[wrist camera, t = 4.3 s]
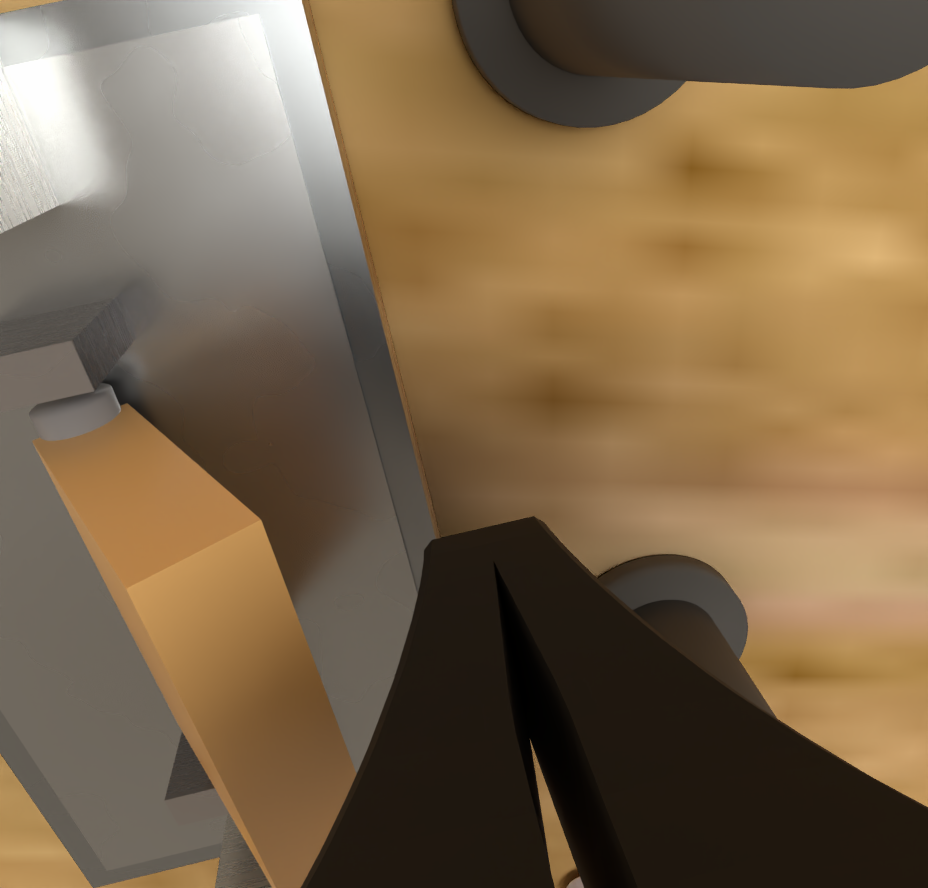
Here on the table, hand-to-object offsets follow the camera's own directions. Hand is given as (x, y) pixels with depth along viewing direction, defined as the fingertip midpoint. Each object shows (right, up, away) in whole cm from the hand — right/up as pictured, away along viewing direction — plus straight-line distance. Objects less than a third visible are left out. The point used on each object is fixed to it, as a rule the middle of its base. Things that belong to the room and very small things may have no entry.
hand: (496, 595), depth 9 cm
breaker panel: (-5, +1, +5) cm, 7 cm away
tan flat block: (-5, 0, +2) cm, 5 cm away
